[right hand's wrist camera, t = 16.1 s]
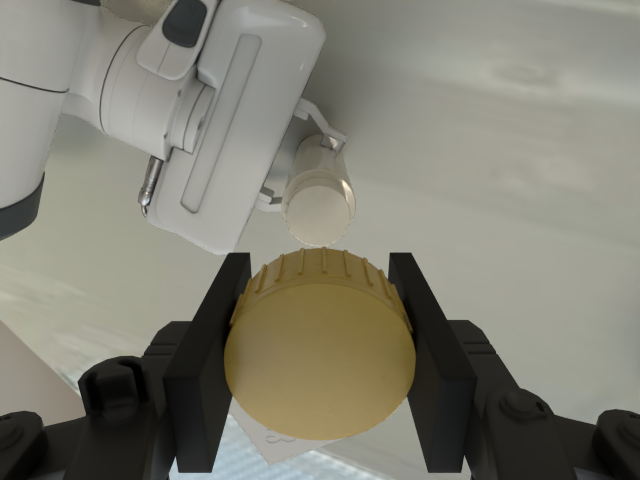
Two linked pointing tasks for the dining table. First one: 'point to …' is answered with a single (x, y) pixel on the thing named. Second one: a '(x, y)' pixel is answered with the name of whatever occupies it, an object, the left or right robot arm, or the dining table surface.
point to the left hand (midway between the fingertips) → (328, 176)
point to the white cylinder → (318, 195)
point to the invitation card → (272, 438)
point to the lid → (319, 346)
